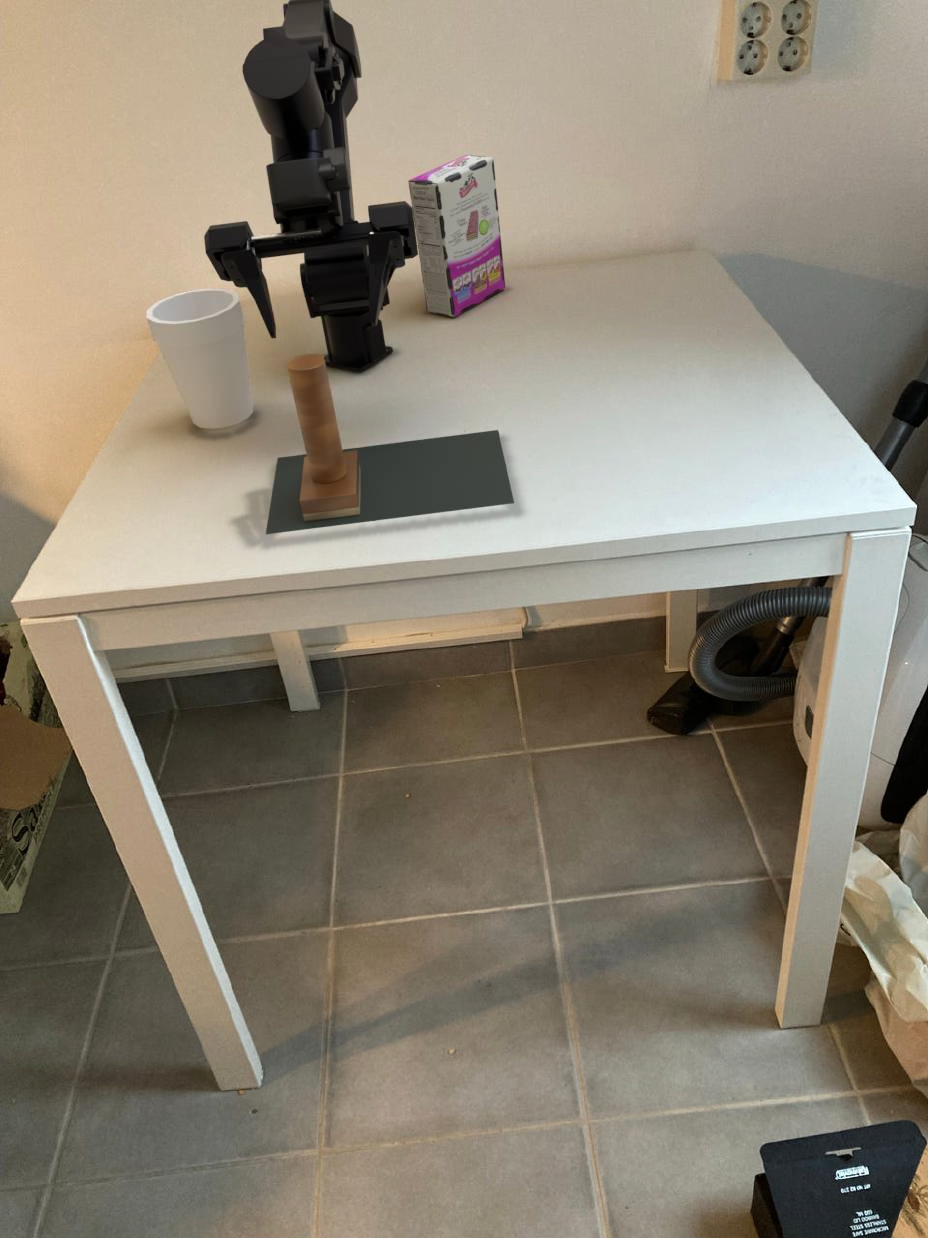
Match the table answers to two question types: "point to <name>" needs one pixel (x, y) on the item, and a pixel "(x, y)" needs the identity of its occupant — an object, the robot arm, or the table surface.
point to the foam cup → (205, 354)
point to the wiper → (322, 445)
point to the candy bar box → (458, 234)
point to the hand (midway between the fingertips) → (323, 330)
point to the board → (405, 481)
